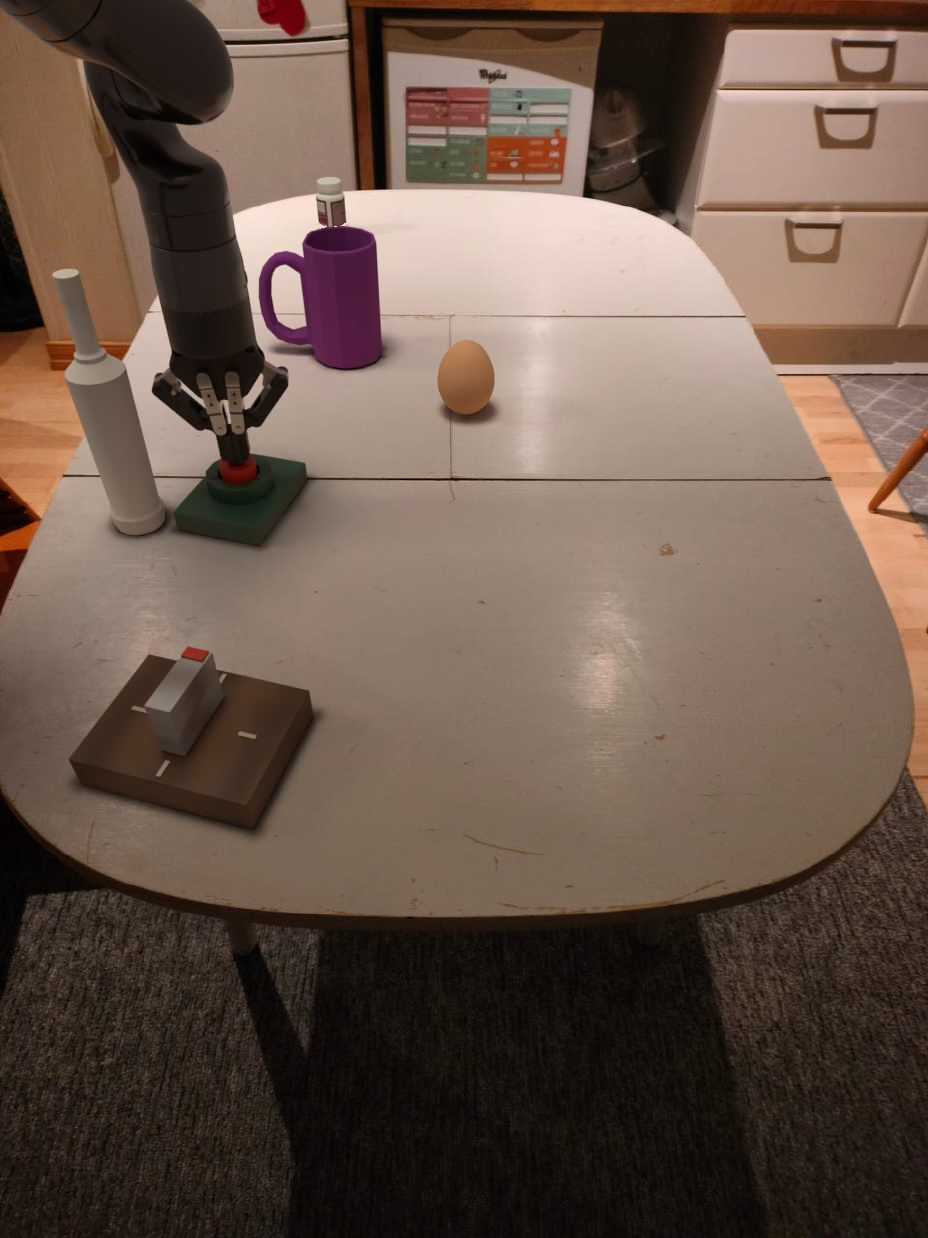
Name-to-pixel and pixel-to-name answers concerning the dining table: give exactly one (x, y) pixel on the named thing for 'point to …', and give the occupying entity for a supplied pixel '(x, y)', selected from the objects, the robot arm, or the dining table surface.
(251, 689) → the panel
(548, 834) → the dining table surface
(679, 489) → the dining table surface
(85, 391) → the bottle
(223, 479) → the red push button
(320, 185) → the pill bottle
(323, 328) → the mug
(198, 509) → the switch
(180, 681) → the tap handle
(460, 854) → the dining table surface
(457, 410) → the egg
